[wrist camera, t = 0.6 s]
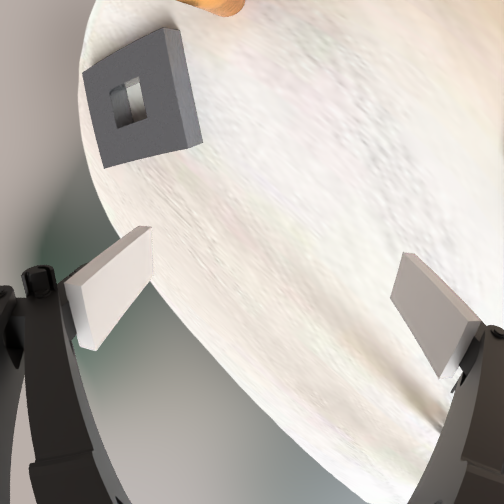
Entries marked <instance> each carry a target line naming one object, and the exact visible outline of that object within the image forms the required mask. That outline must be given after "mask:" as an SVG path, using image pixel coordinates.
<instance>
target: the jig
mask: <svg viewBox="0 0 504 504" xmlns="http://www.w3.org/2000/svg"><path fill="white" fill-rule="evenodd" d="M82 74H83V80H84V86H85V91H86V96H87V101H88V106H89V110H90V115H91V119H92V124H93V128H94V132H95V136H96V140H97V144H98V148H99V152H100V156H101V159H102V163H103V166H104V169H105V168H108V167H112V166H115V165H119V164H123V163H127V162H130V161H134V160H138V159H142V158H147V157H151V156H155V155H159V154H164V153H168V152H173V151H178V150H183V149H188V148H191V147H193V146H196V145H198V144H201V143H203V140H202V135H201V131H200V126H199V122H198V117H197V112H196V108H195V103H194V98H193V94H192V89H191V84H190V79H189V74H188V69H187V64H186V59H185V54H184V49H183V44H182V39H181V34H180V30H174V29H169V28H161V29H159V30H157V31H155V32H152V33H150V34H148V35H146V36H144V37H142V38H140V39H138V40H136V41H135V42H133V43H131V44H129V45H127V46H125V47H123V48H122V49H120V50H118V51H116V52H115V53H113V54H111V55H110V56H108V57H106V58H105V59H103V60H101V61H100V62H98V63H96V64H95V65H93V66H92V67H90V68H89V69H87V70H86V71H84V72H83V73H82ZM139 82H140V86H141V91H142V96H143V100H144V105H145V109H146V114H147V118H146V119H143V120H141V121H138V122H135V123H133V119H132V114H131V110H130V105H129V101H128V96H127V91H126V88H128V87H130V86H132V85H134V84H137V83H139Z"/></svg>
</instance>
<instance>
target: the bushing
mask: <svg viewBox="0 0 504 504" xmlns="http://www.w3.org/2000/svg"><path fill="white" fill-rule="evenodd" d="M176 1H180V2H183V3H186V4H189V5H192V6H195V7H197V8H200V9H203V10H206V11H208V12H211V13H213V14H216V15H218V16H222V17H229V16H232V15H234V14H236V13H238V12H239V11H240V10H241V9H242V8H243V6H244V3H245V0H176Z"/></svg>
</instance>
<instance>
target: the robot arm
mask: <svg viewBox="0 0 504 504" xmlns="http://www.w3.org/2000/svg"><path fill="white" fill-rule="evenodd" d="M153 276H154V267H153V246H152V227H147V226H138V227H136V228H135V229H133V230H132V231H131V232H129V233H128V234H126V235H125V236H124V237H122V238H121V239H120V240H118V241H117V242H116V243H114V244H113V245H112V246H110V247H109V248H108V249H106V250H105V251H104V252H102V253H101V254H100V255H98V256H97V257H96V258H95V259H93V260H92V261H91V262H88V263H86V264H84V265H81V266H80V267H78V268H77V269H76V270H75V271H74V272H72V273H71V274H70V275H69V276H67V277H66V278H64V279H63V280H62V281H61V282H59V283H58V284H57V283H56V279H55V273H54V269H53V267H51V266H49V265H37V266H34V267H31V268H29V269H27V270H25V271H24V272H23V273H22V275H21V277H22V281H23V285H24V289H25V293H26V298H16V297H15V293H14V290H13V288H12V287H11V286H5V285H4V286H0V504H10V467H11V454H12V444H13V434H14V427H15V420H16V414H17V408H18V403H19V398H20V392H21V388H22V383H23V379H24V375H25V385H26V397H27V408H28V416H29V422H30V430H31V436H32V442H33V447H34V452H35V458H36V460H35V463H30V465H29V475H30V480H31V484H32V488H33V491H34V495H35V499H36V502H37V504H132V503H131V502H130V500H129V499H128V497H127V495H126V493H125V491H124V490H123V488H122V485H121V483H120V481H119V479H118V477H117V475H116V473H115V471H114V468H113V466H112V464H111V462H110V459H109V457H108V455H107V452H106V450H105V448H104V445H103V443H102V440H101V438H100V435H99V432H98V429H97V427H96V424H95V421H94V418H93V415H92V412H91V409H90V406H89V403H88V400H87V397H86V393H85V390H84V387H83V383H82V380H81V376H80V372H79V368H78V364H77V360H76V356H75V352H74V348H73V344H72V341H71V340H72V339H73V338H74V337H75V335H76V334H77V338H78V341H79V344H80V347H83V348H87V349H90V350H94V351H97V349H98V348H99V346H100V345H101V344H102V342H103V341H104V340H105V338H106V337H107V336H108V334H109V333H110V332H111V330H112V329H113V327H114V326H115V325H116V324H117V322H118V321H119V319H120V318H121V317H122V316H123V314H124V313H125V311H126V310H127V309H128V308H129V306H130V305H131V303H133V301H134V300H135V299H136V297H137V296H138V295H139V294H140V292H141V291H142V290H143V289H144V287H145V286H146V285H147V284H148V282H149V281H150V280H151V279H152V277H153ZM390 299H391V300H392V302H393V303H394V305H395V307H396V308H397V310H398V311H399V313H400V314H401V316H402V318H403V319H404V321H405V322H406V324H407V326H408V327H409V329H410V330H411V332H412V334H413V335H414V337H415V339H416V340H417V342H418V344H419V345H420V347H421V349H422V350H423V352H424V354H425V356H426V357H427V359H428V361H429V363H430V364H431V366H432V368H433V370H434V371H435V373H436V375H437V377H438V379H444V378H452V377H453V376H454V374H455V372H456V370H457V369H458V367H459V366H460V367H461V369H462V371H463V372H462V374H461V376H460V377H459V379H458V381H457V382H456V384H455V386H454V387H453V389H452V390H451V393H453V392H454V390H455V393H454V397H453V400H452V403H451V406H450V409H449V412H448V415H447V418H446V421H445V424H444V426H443V429H442V432H441V434H440V437H439V439H438V442H437V444H436V447H435V449H434V451H433V454H432V456H431V458H430V461H429V463H428V465H427V467H426V469H425V471H424V473H423V475H422V477H421V479H420V481H419V483H418V485H417V487H416V489H415V491H414V493H413V495H412V496H411V498H410V500H409V502H408V503H407V504H504V330H503V329H502V328H500V327H497V326H494V325H488V326H486V325H485V324H484V323H483V322H482V321H481V319H480V318H479V317H478V316H477V315H476V314H475V313H474V312H473V311H472V310H471V309H470V308H469V307H468V305H467V304H466V303H465V302H464V301H463V300H462V299H461V298H460V297H459V296H458V295H457V294H456V293H455V292H454V291H453V290H452V289H451V288H450V287H449V286H448V285H447V284H446V283H445V282H444V281H443V280H442V279H441V278H440V277H439V276H438V275H437V274H436V273H435V272H434V271H433V270H431V269H430V268H429V267H428V266H427V265H426V264H425V263H424V262H423V261H422V260H421V259H420V258H419V257H418V256H416V255H415V254H412V253H404V252H403V254H402V258H401V262H400V265H399V269H398V273H397V276H396V280H395V283H394V287H393V290H392V293H391V296H390Z"/></svg>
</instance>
